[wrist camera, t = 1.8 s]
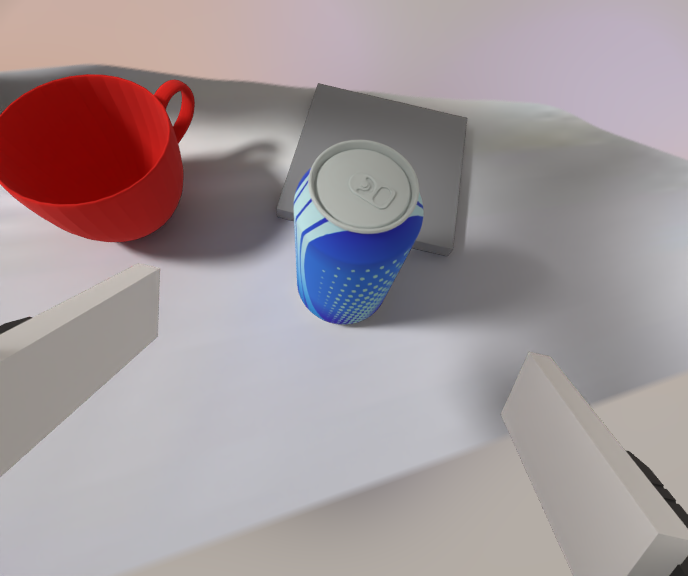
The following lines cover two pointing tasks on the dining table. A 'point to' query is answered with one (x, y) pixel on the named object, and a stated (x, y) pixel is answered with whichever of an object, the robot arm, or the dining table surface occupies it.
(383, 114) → the slate tile
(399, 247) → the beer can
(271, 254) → the dining table surface
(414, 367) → the dining table surface
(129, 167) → the ceramic cup
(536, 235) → the dining table surface
